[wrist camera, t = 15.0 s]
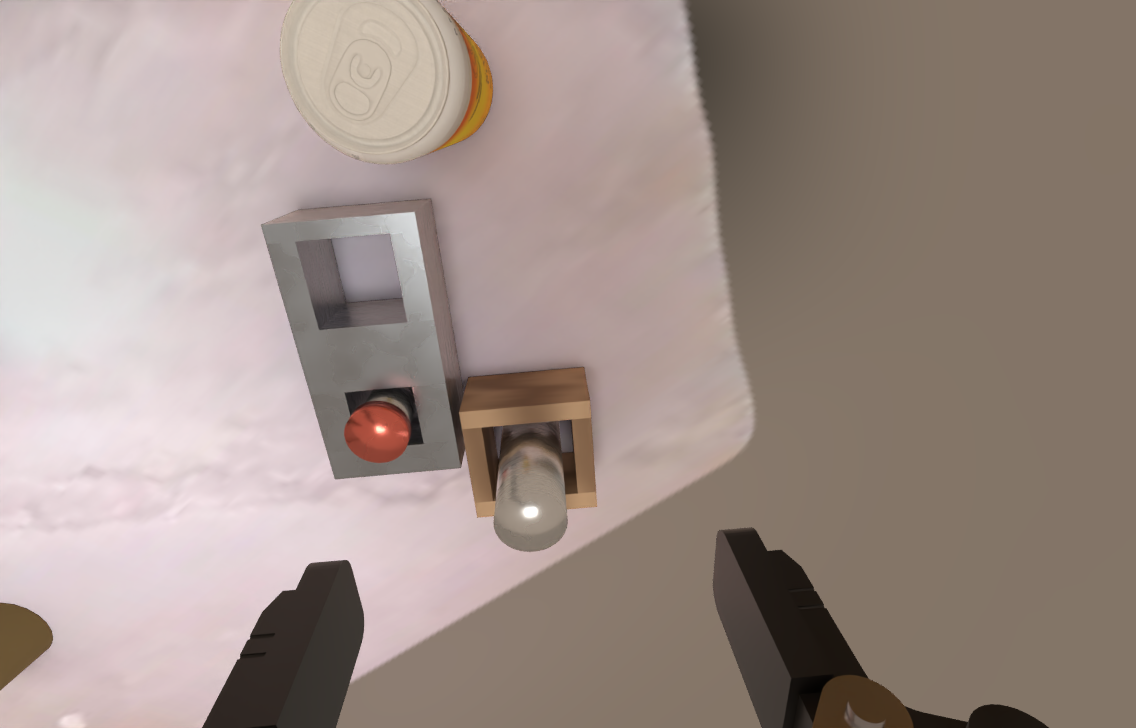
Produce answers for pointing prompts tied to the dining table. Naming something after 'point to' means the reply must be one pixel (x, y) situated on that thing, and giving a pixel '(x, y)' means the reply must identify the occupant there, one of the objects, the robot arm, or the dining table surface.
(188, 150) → the dining table surface
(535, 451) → the gray round-topped cylinder
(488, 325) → the dining table surface
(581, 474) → the wooden hollow square frame
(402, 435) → the copper-capped cylinder
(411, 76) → the beer can
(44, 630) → the olive knobbed peg
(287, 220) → the socket block
